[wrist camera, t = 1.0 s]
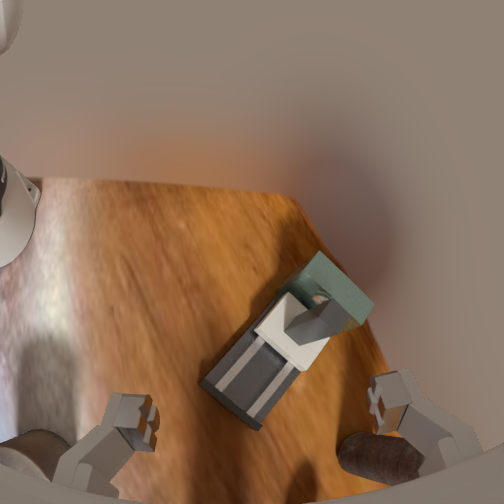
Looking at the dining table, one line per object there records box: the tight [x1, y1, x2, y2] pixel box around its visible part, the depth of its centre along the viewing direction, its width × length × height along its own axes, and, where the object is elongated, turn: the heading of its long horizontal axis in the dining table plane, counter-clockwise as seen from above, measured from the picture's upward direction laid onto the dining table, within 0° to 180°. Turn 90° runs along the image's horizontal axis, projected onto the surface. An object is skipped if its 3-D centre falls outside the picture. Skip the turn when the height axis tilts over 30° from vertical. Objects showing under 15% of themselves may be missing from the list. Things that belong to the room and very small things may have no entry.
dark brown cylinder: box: [338, 432, 426, 486], centre depth 35 cm, size 8×7×20 cm
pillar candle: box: [0, 429, 71, 482], centre depth 24 cm, size 10×10×15 cm
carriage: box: [254, 292, 351, 371], centre depth 40 cm, size 9×7×12 cm
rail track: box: [198, 250, 374, 431], centre depth 42 cm, size 11×22×10 cm, turn 140°
